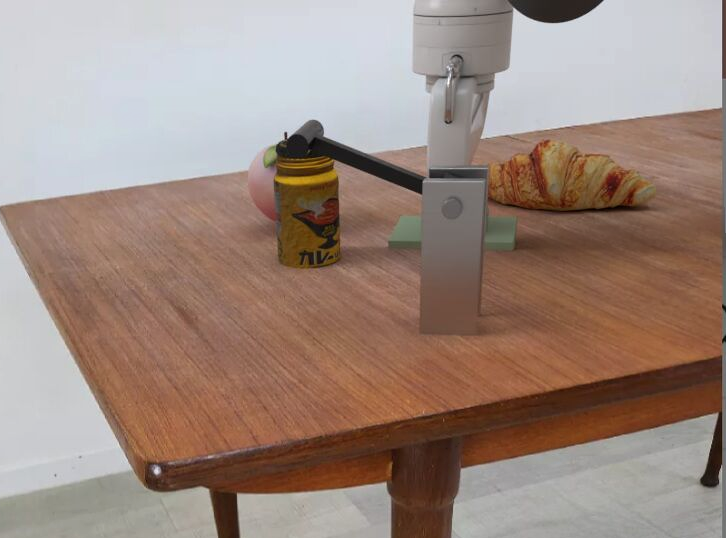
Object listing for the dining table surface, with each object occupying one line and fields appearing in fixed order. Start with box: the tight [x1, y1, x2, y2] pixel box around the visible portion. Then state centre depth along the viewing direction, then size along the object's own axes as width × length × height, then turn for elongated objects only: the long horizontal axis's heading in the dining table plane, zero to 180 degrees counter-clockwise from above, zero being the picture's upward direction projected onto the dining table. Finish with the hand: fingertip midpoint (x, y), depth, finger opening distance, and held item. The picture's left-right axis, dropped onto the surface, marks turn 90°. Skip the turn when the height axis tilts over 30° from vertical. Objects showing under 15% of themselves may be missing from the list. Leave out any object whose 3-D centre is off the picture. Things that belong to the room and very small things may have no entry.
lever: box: [286, 119, 458, 196], centre depth 70 cm, size 14×6×2 cm, turn 77°
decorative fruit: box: [246, 131, 288, 223], centre depth 102 cm, size 9×8×10 cm
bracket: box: [418, 164, 489, 337], centre depth 72 cm, size 10×8×13 cm
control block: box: [387, 206, 518, 251], centre depth 94 cm, size 12×9×4 cm
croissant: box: [488, 139, 658, 212], centre depth 106 cm, size 21×10×8 cm, turn 66°
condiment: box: [274, 138, 342, 270], centre depth 89 cm, size 7×8×12 cm
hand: (454, 206), depth 93 cm, fingers closed, pressing on button
